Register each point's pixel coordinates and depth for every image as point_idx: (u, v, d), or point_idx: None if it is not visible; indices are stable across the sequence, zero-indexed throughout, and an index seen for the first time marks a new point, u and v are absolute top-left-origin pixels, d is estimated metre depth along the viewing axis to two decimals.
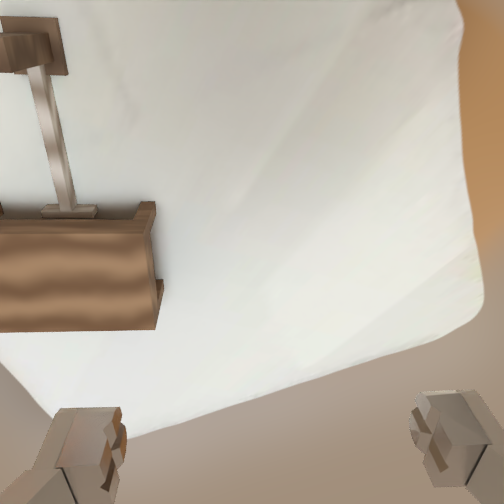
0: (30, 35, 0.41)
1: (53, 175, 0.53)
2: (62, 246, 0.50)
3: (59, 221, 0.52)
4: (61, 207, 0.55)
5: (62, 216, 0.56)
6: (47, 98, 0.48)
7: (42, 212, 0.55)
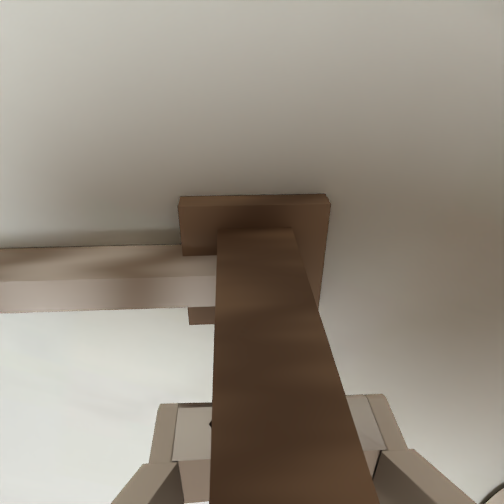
0: None
1: None
2: None
3: None
4: None
5: None
6: (121, 306, 0.16)
7: None
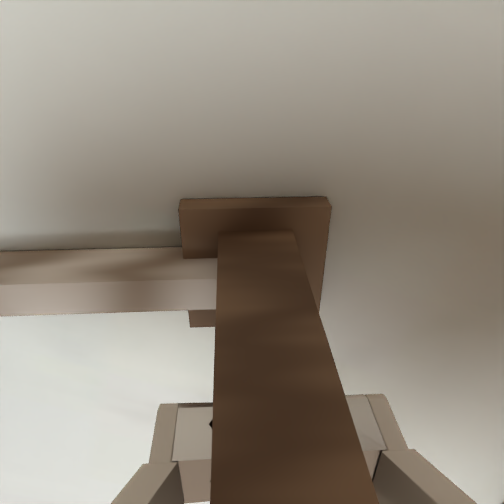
0: None
1: None
2: None
3: None
4: None
5: None
6: (122, 308, 0.16)
7: None
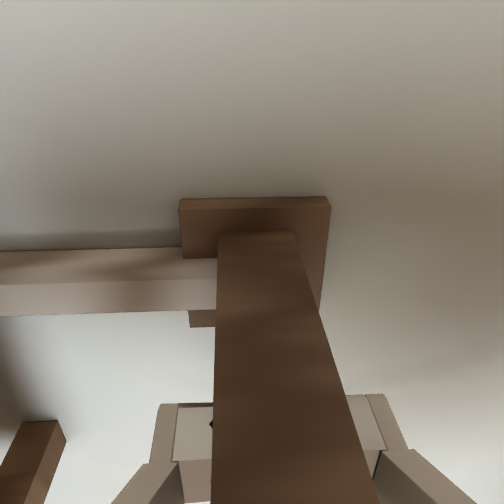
0: None
1: None
2: None
3: None
4: None
5: None
6: (121, 308, 0.16)
7: None
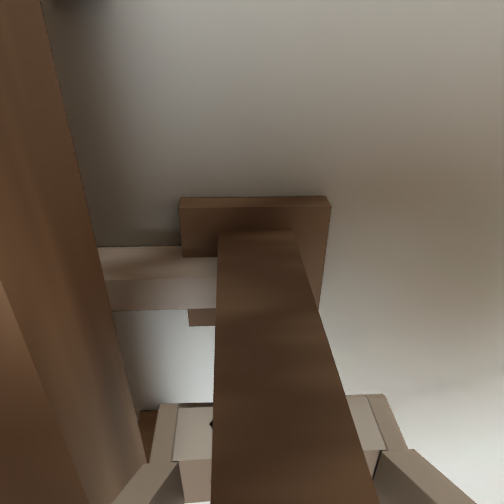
0: None
1: None
2: None
3: (123, 394, 0.12)
4: None
5: None
6: (121, 307, 0.16)
7: None
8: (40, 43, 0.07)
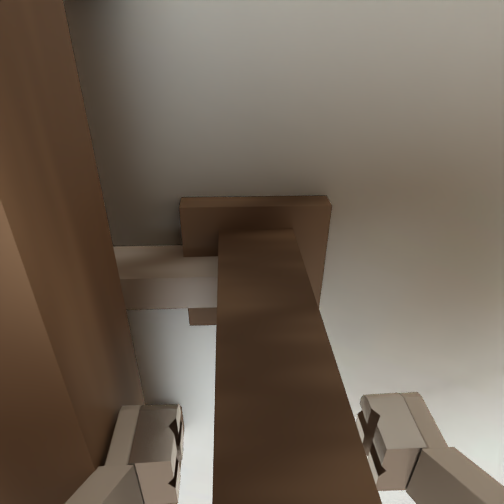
0: None
1: None
2: None
3: (135, 390, 0.12)
4: None
5: None
6: None
7: None
8: (60, 31, 0.07)
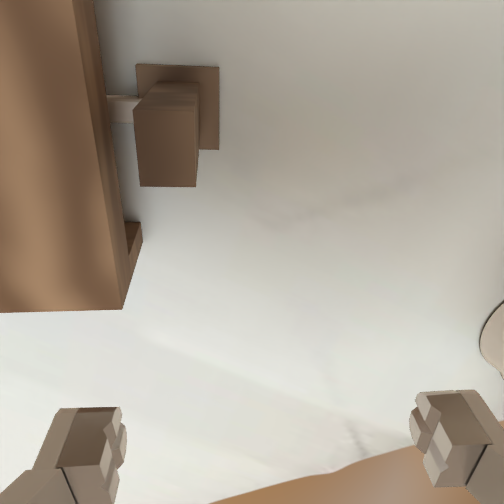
0: (197, 154, 0.27)
1: None
2: (65, 170, 0.23)
3: (109, 135, 0.25)
4: None
5: None
6: None
7: None
8: None
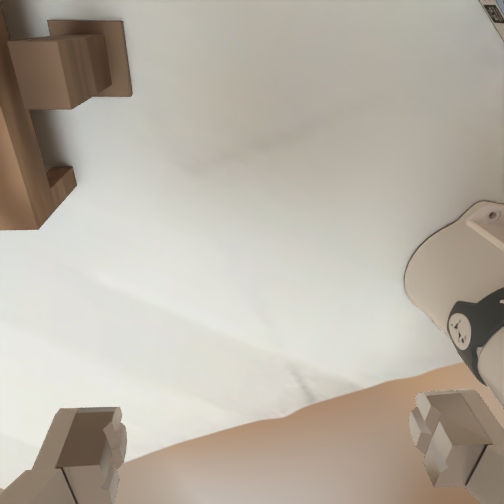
0: (95, 93, 0.31)
1: None
2: None
3: (15, 75, 0.30)
4: None
5: None
6: None
7: None
8: None
